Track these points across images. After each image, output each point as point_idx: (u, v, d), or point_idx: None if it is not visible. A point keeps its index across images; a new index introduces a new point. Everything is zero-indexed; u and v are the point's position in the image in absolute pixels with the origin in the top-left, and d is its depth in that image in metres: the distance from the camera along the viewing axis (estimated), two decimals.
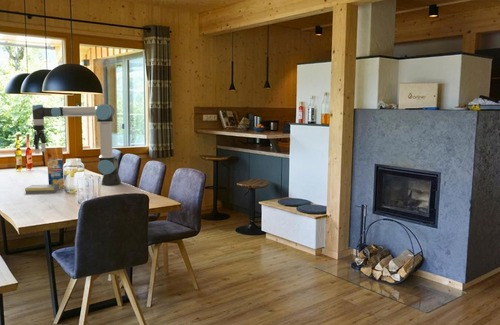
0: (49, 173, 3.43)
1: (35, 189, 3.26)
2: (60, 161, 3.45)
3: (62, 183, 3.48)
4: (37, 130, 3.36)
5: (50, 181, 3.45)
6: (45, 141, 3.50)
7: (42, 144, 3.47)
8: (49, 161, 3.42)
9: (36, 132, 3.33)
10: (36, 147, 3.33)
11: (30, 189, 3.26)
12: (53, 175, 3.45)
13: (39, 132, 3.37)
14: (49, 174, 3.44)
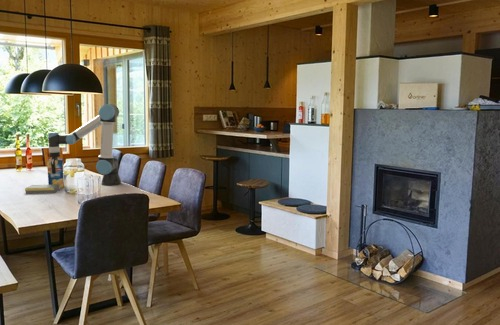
0: (48, 173, 3.44)
1: (35, 189, 3.26)
2: (60, 161, 3.45)
3: (62, 183, 3.48)
4: (53, 157, 3.43)
5: (50, 181, 3.45)
6: None
7: None
8: (49, 161, 3.43)
9: (52, 162, 3.41)
10: None
11: (30, 189, 3.26)
12: (53, 175, 3.45)
13: (55, 159, 3.44)
14: (48, 174, 3.44)
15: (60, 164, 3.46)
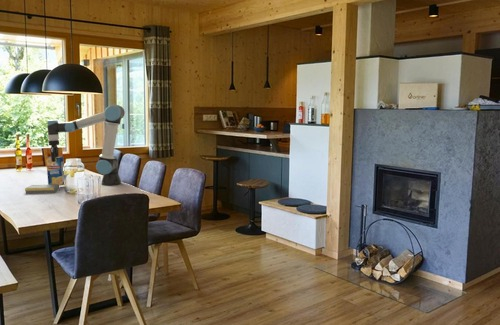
0: (48, 170, 3.44)
1: (35, 189, 3.26)
2: (58, 159, 3.44)
3: (61, 181, 3.46)
4: (52, 145, 3.42)
5: (49, 178, 3.45)
6: None
7: None
8: (48, 158, 3.43)
9: (52, 150, 3.40)
10: None
11: (30, 189, 3.26)
12: (52, 172, 3.45)
13: (54, 147, 3.43)
14: (48, 171, 3.44)
15: (59, 162, 3.44)
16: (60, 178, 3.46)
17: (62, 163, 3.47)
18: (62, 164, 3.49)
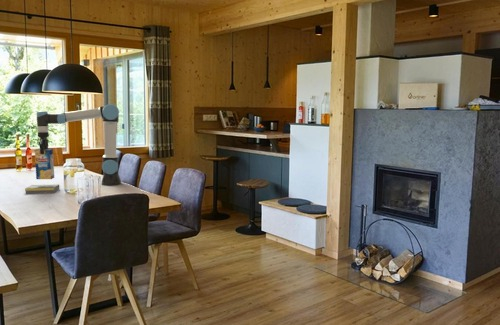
0: (36, 163, 3.32)
1: (35, 189, 3.26)
2: (47, 151, 3.31)
3: (49, 174, 3.34)
4: (41, 137, 3.29)
5: (37, 172, 3.33)
6: None
7: None
8: (36, 151, 3.31)
9: (40, 142, 3.27)
10: None
11: (30, 189, 3.26)
12: (40, 165, 3.32)
13: (43, 139, 3.30)
14: (36, 164, 3.32)
15: (48, 154, 3.32)
16: (49, 171, 3.33)
17: (51, 156, 3.35)
18: (51, 157, 3.36)
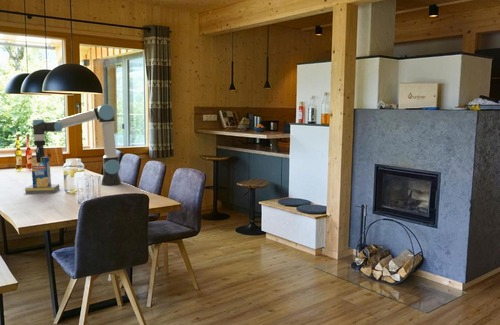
0: (33, 171, 3.28)
1: (35, 189, 3.26)
2: (44, 159, 3.27)
3: (46, 182, 3.30)
4: (38, 146, 3.25)
5: (34, 179, 3.29)
6: None
7: None
8: (33, 158, 3.26)
9: (37, 151, 3.23)
10: None
11: (30, 189, 3.26)
12: (37, 173, 3.28)
13: (40, 148, 3.26)
14: (32, 172, 3.28)
15: (44, 162, 3.28)
16: (45, 179, 3.29)
17: (47, 164, 3.31)
18: (48, 165, 3.32)
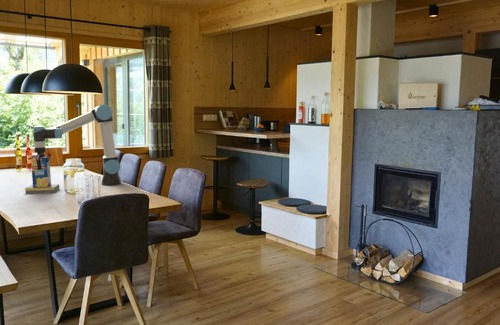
0: (33, 171, 3.28)
1: (35, 189, 3.26)
2: (44, 159, 3.27)
3: (46, 182, 3.30)
4: (38, 153, 3.26)
5: (34, 179, 3.28)
6: None
7: None
8: (33, 158, 3.26)
9: (38, 158, 3.24)
10: None
11: (30, 189, 3.26)
12: (37, 173, 3.28)
13: (40, 155, 3.27)
14: (32, 172, 3.28)
15: (44, 162, 3.28)
16: (45, 179, 3.29)
17: (47, 164, 3.31)
18: (48, 165, 3.32)
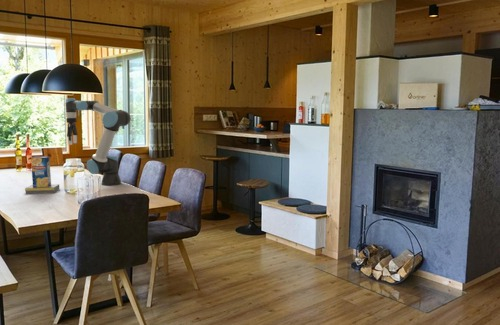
0: (33, 171, 3.28)
1: (35, 189, 3.26)
2: (44, 159, 3.27)
3: (46, 182, 3.30)
4: (70, 122, 3.55)
5: (34, 179, 3.28)
6: (76, 133, 3.69)
7: (74, 136, 3.67)
8: (33, 158, 3.26)
9: (69, 124, 3.53)
10: (69, 138, 3.53)
11: (30, 189, 3.26)
12: (37, 173, 3.28)
13: (72, 124, 3.56)
14: (32, 172, 3.28)
15: (44, 162, 3.28)
16: (45, 179, 3.29)
17: (47, 164, 3.31)
18: (48, 165, 3.32)
